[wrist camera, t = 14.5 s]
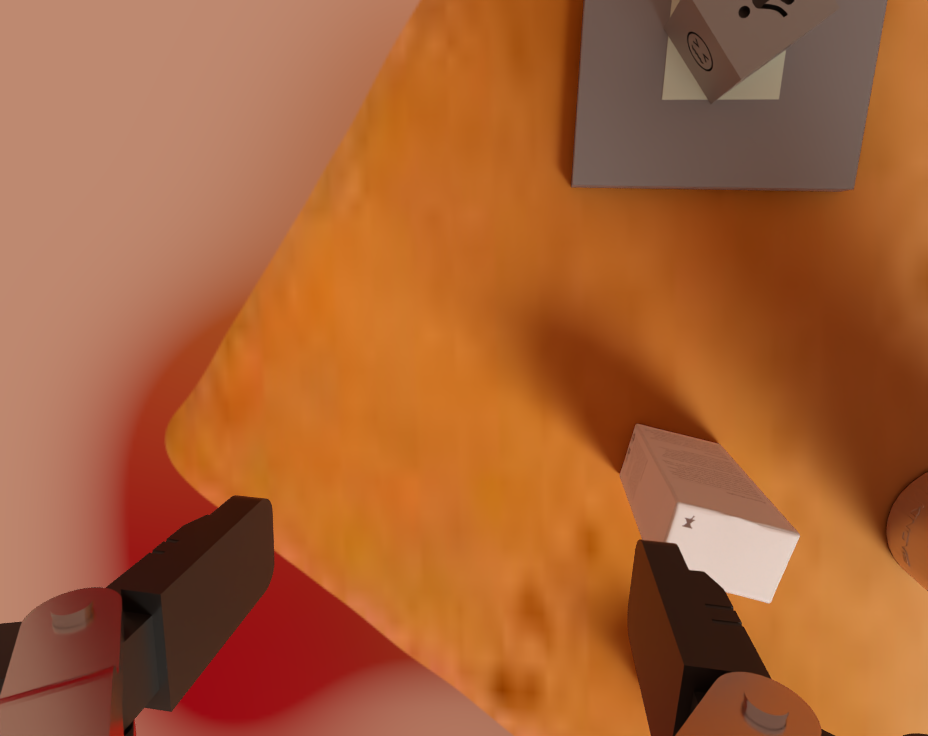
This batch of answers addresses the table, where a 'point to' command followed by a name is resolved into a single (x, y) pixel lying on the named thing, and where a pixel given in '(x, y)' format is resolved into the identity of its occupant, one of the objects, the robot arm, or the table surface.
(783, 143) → the plate
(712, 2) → the dice cube
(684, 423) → the table surface
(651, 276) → the table surface
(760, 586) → the skincare box
